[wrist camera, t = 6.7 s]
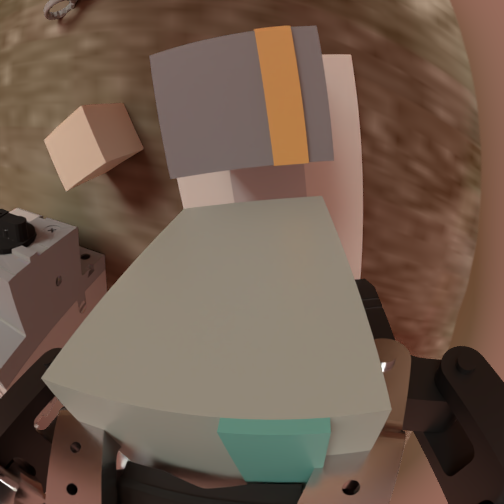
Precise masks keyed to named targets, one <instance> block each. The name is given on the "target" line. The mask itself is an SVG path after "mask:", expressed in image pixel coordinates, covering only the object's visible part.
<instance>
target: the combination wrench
mask: <svg viewBox="0 0 504 504" xmlns="http://www.w3.org/2000/svg"><path fill="white" fill-rule="evenodd" d="M61 1H64V0H49V1H48V2H47V4H46V5H45V7H44V15H45V17H46V18H47V19H49V20H54V19H58V18H61V17H63V16H65V15H66V13H67V12H68V11H70V10H71V9H73V8H74V6H75V3H76V2H77V0H68V1H70V2H69V3H70V4H68V5H67V6H66V8H64V9H62V10H60V11H57V12H53V13H52V12H49V9H51V8H52V6H53V5H55V4H57V3H59V2H61Z"/></svg>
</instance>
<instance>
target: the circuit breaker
mask: <svg viewBox="0 0 504 504" xmlns="http://www.w3.org/2000/svg"><path fill="white" fill-rule="evenodd" d="M105 269H106V268H105V255H103V254H100V253H97V252H95V251H92V250H89V249H86V248H83V247H80V246H79V237H78V227H75V226H72V225H69V224H66V223H63V222H60V221H56V220H53V219H50V218H46V219H43V216H41V215H38V214H35V213H32V212H29V211H26V210H23V209H20V208H16V209H14V210H12V211H11V212H9V211H6V210H3V209H0V398H1V397H2V396H3V395H4V394H5V393H6V392H7V391H8V390H9V389H10V388H11V386H12V385H13V384H14V383H15V382H16V381H17V380H18V379H19V378H20V377H21V376H22V375H23V374H24V373H25V372H26V371H27V370H28V369H29V368H30V367H31V366H32V365H33V364H34V363H35V362H36V361H37V360H38V359H39V358H40V357H41V356H42V355H43V354H44V353H45V352H47V351H49V350H51V349H53V348H63V347H64V346H65V344H66V343H67V342H68V340H69V339H70V338H71V336H72V335H73V334H74V333H75V331H76V330H77V329H78V327H79V326H80V325H81V324H82V322H83V321H84V320H85V319H86V317H87V316H88V315H89V314H90V312H91V311H92V310H93V309H94V307H95V306H96V305H97V304H98V303H99V301H100V300H101V299H102V298H103V297H104V295H105V294H106V293H107V284H106V270H105ZM56 400H57V398H56V397H54V398H53V399H52V400H51V401H50V402H49V403H48V404H47V406H46V407H45V408H44V409H43V410H42V411H41V412H40V414H39V415H38V416H37V417H36V418H35V421H34V427H36V428H37V429H39V425H37V423H38V421H39V420H40V418H41V417H42V416H45V417H47V415H48V414H49V412H50V410H51V409H52V407H53V405H54V404H55V402H56Z"/></svg>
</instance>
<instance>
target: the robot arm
mask: <svg viewBox="0 0 504 504" xmlns="http://www.w3.org/2000/svg"><path fill="white" fill-rule="evenodd" d="M355 282H356V285H357V288H358V291H359V294H360V297H361V300H362V303H363V306H364V309H365V312H366V315H367V318H368V322H369V325H370V328H371V331H372V335H373V338H374V342H375V345H376V349H377V352H378V356H379V359H380V363H381V367H382V371H383V375H384V379H385V383H386V387H387V391H388V395H389V399H390V404H391V408H392V410H391V412H390V414H389V416H388V418H387V420H386V422H385V424H384V426H383V428H382V430H381V432H380V434H379V436H378V438H377V440H376V442H375V444H374V445H373V447H372V449H371V450H368V451H362V452H354V453H346V454H337V455H326V457H325V461H324V465H323V467H322V468H314V470H313V472H312V474H311V476H310V478H309V481H308V483H307V485H306V487H305V489H304V491H303V492H301V490H302V484H247V485H239V486H231V487H221V488H201V487H198V486H196V485H193V484H191V483H189V482H187V481H184V480H182V479H180V478H178V477H176V476H174V475H172V474H170V473H168V472H166V471H164V470H160V469H156V468H152V467H148V466H144V465H141V464H137V463H134V462H132V461H130V460H129V459H128V458H127V457H126V456H125V455H123V454H122V453H121V452H120V451H119V449H120V448H121V446H120V445H119V444H118V443H117V442H116V441H115V440H114V439H113V438H112V437H111V436H110V435H109V434H108V433H107V432H106V431H105V430H103V429H100V428H97V427H94V426H91V425H89V424H86V423H83V422H80V421H78V420H77V419H76V418H75V417H74V416H73V415H72V414H71V413H70V412H69V411H68V410H67V408H66V407H65V406H64V407H62V408H61V409H60V411H59V413H58V415H57V417H56V418H55V419H54V420H53V421H52V423H51V424H50V425H49V426H48V427H47V428H46V429H45V430H38V429H37V428H36V427H34V421H35V418H36V417H37V416H38V415H39V414H40V412H41V411H42V410H43V409H44V408H45V407H46V406H47V404H48V403H49V402H50V401H51V400H52V399H53V398H54V397H56V396H55V395H54V394H53V392H52V391H51V390H50V389H49V388H48V386H47V385H46V384H45V383H44V381H43V380H42V379H41V378H42V376H43V375H44V373H45V372H46V370H47V369H48V368H49V366H50V365H51V363H52V362H53V361H54V359H55V358H56V356H57V355H58V354H59V352H60V351H61V350H62V348H53V349H51V350H49V351H47V352H45V353H44V354H43V355H42V356H41V357H40V358H39V359H38V360H37V361H36V362H35V363H34V364H33V365H32V366H31V367H30V368H29V369H28V370H27V371H26V372H25V373H24V374H23V375H22V376H21V377H20V378H19V379H18V380H17V381H16V382H15V383H14V384H13V385H12V386H11V388H10V389H9V390H8V391H7V392H6V393H5V394H4V395H3V396H2V397H1V398H0V504H389V502H390V499H391V495H392V492H393V489H394V485H395V482H396V478H397V475H398V471H399V467H400V463H401V459H402V455H403V450H404V445H405V437H406V435H405V431H403V430H409V431H413V432H414V434H415V436H416V437H417V439H418V441H419V443H420V445H421V447H422V449H423V451H424V453H425V455H426V457H427V459H428V461H429V463H430V465H431V467H432V469H433V471H434V473H435V476H436V478H437V480H438V482H439V484H440V486H441V488H442V490H443V493H444V495H445V497H446V499H447V501H448V504H504V382H503V381H502V380H501V378H500V377H499V376H498V375H497V373H496V372H495V371H494V369H493V368H492V367H491V366H490V364H488V362H487V361H486V360H485V358H484V357H483V356H482V355H481V354H480V353H479V352H478V351H476V350H474V349H472V348H470V347H465V346H457V347H454V348H451V349H449V350H448V351H447V352H446V353H445V354H444V355H443V358H442V360H437V359H426V358H418V357H415V356H412V355H410V353H409V351H408V350H407V348H406V347H405V346H404V345H402V344H401V343H399V342H397V341H395V339H394V336H393V333H392V330H391V328H390V325H389V322H388V320H387V317H386V315H385V312H384V309H383V308H382V304H381V302H380V299H379V297H378V294H377V292H376V290H375V287H374V286H373V285H372V284H370V283H369V282H368V281H367V280H366V279H356V280H355ZM56 398H57V397H56ZM57 399H58V398H57ZM58 400H59V399H58ZM62 405H63V404H62ZM45 492H46V494H45Z"/></svg>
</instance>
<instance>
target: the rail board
mask: <svg viewBox="0 0 504 504" xmlns="http://www.w3.org/2000/svg"><path fill="white" fill-rule="evenodd" d="M149 57H150V65H151V72H152V79H153V86H154V93H155V99H156V105H157V111H158V117H159V123H160V128H161V134H162V139H163V145H164V150H165V155H166V160H167V165H168V170H169V175H170V179H174V178H177V181H178V185H179V190H180V195H181V199H182V204H183V208H184V209H186V208H194V207H202V206H211V205H220V204H229V203H239V202H249V201H260V200H271V199H284V198H297V197H311V196H322V197H323V199H324V201H325V204H326V206H327V209H328V211H329V213H330V216H331V218H332V221H333V223H334V226H335V228H336V231H337V233H338V236H339V238H340V241H341V244H342V246H343V249H344V252H345V254H346V257H347V260H348V262H349V265H350V268H351V271H352V273H353V276H354V279H355V280H356V279H360V277H361V261H362V238H363V173H362V151H361V135H360V122H359V112H358V102H357V93H356V85H355V78H354V71H353V64H352V58H351V55H342V54H331V55H322V53H321V47H320V42H319V36H318V31H317V26H298V27H290V25H288V26H276V27H267V28H259V29H254V31H249V32H242V33H236V34H231V35H225V36H220V37H215V38H211V39H206V40H202V41H198V42H194V43H190V44H186V45H182V46H179V47H175V48H172V49H169V50H165V51H162V52H159V53H156V54H153V55H150V56H149Z"/></svg>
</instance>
